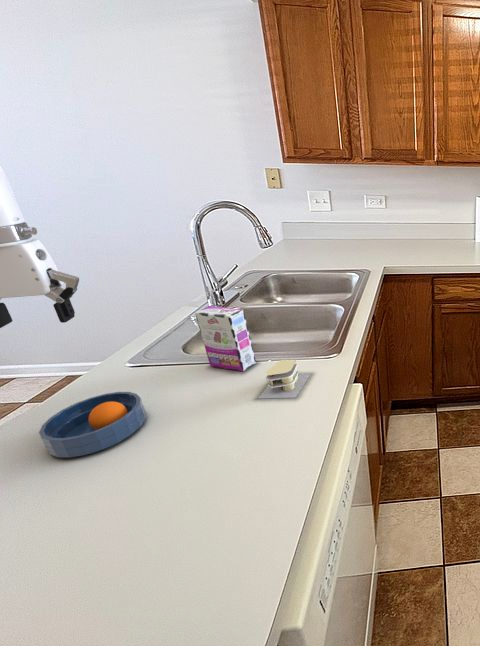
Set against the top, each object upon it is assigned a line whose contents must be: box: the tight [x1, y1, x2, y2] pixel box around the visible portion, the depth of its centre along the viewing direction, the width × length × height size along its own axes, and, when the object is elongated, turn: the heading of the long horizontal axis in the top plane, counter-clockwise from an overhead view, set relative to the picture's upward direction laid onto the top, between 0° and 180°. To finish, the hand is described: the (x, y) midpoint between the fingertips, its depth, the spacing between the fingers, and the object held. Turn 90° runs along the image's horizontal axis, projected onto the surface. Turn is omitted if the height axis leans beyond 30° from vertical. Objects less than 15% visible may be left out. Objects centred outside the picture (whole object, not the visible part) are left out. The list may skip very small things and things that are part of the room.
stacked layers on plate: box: [258, 359, 311, 399], centre depth 99 cm, size 10×9×6 cm
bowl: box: [38, 391, 147, 458], centre depth 83 cm, size 15×15×5 cm
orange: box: [88, 402, 127, 430], centre depth 83 cm, size 6×6×6 cm
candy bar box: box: [194, 305, 257, 372], centre depth 106 cm, size 11×5×16 cm, turn 76°
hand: (36, 322), depth 76 cm, fingers open, 9 cm apart
